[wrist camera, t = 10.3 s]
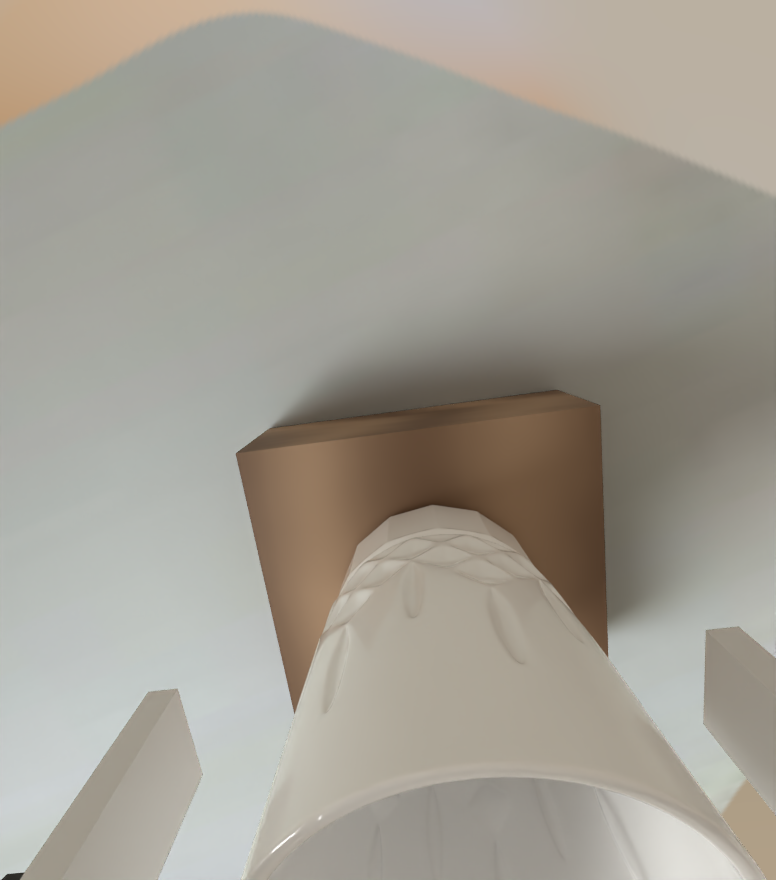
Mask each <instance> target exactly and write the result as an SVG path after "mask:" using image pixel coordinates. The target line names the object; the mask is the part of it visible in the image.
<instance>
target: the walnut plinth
mask: <svg viewBox="0 0 776 880" xmlns="http://www.w3.org/2000/svg"><path fill="white" fill-rule="evenodd" d="M236 457H237V461H238V466H239V470H240V475H241V479H242V483H243V488H244V492H245V497H246V501H247V506H248V510H249V514H250V519H251V523H252V528H253V532H254V537H255V541H256V545H257V550H258V554H259V559H260V563H261V568H262V572H263V576H264V581H265V585H266V590H267V594H268V599H269V603H270V607H271V612H272V616H273V621H274V625H275V630H276V634H277V638H278V643H279V647H280V652H281V656H282V661H283V665H284V669H285V674H286V678H287V683H288V687H289V692H290V696H291V700H292V705H293V709H294V714H295V712H296V708H297V705H298V702H299V699H300V696H301V693H302V690H303V687H304V684H305V681H306V678H307V675H308V671H309V668H310V665H311V662H312V659H313V656H314V653H315V650H316V648H317V645H318V641H319V638H320V636H321V634H322V632H323V630H324V628H325V624H326V621H327V618H328V615H329V612H330V609H331V607H332V604H333V603H334V601H335V600H336V599H337V598H338V596H339V592H340V589H341V585H342V582H343V580H344V577H345V575H346V572H347V570H348V567H349V565H350V562H351V560H352V557H353V555H354V552H355V550H356V547H357V545H358V544H359V543H360V542H361V541H363V540H364V539H365V538H366V537H367V536H368V535H369V534H371V533H372V532H373V531H374V530H375V529H376V528H377V527H379V526H380V525H381V524H382V523H383V522H384V521H386V520H387V519H388V518H389V517H391V516H394V515H398V514H401V513H405V512H408V511H412V510H415V509H419V508H422V507H426V506H429V505H439V506H445V507H452V508H459V509H466V510H473V511H477V512H479V513H480V514H482V515H484V516H485V517H487V518H488V519H490V520H491V521H493V522H494V523H496V524H497V525H499V526H500V527H502V528H503V529H505V530H506V531H508V532H509V533H511V534H512V535H513V536H514V537H515V538H516V540H517V541H518V543H519V544H520V546H521V547H522V549H523V550H524V552H525V553H526V555H527V556H528V558H529V559H530V561H531V562H532V564H533V565H534V566H535V568H536V569H537V570H538V571H539V572H540V573H541V574H542V575H543V576H544V577H545V578H546V579H547V580H548V581H549V582H550V583H551V584H552V585H553V586H554V587H555V589H556V590H557V592H558V593H559V594H560V595H561V597H562V598H563V599H564V601H565V602H566V603H567V605H568V606H569V607H570V609H571V610H572V612H573V613H574V614H575V616H576V617H577V618H578V619H579V621H580V622H581V623H582V624H583V626H584V627H585V628H586V629H587V631H588V632H589V633H590V634H591V636H592V637H593V638H594V639H595V641H596V642H597V643H598V645H599V646H600V647H601V649H602V650H603V651H604V653H605V654H606V656H607V657H608V634H607V603H606V571H605V540H604V508H603V477H602V446H601V414H600V405H598V404H595V403H592V402H589V401H587V400H584V399H581V398H578V397H576V396H573V395H570V394H567V393H564V392H562V391H559V390H553V391H545V392H538V393H530V394H523V395H515V396H508V397H501V398H493V399H486V400H478V401H471V402H463V403H456V404H449V405H441V406H434V407H426V408H419V409H411V410H404V411H396V412H389V413H382V414H374V415H367V416H359V417H352V418H344V419H337V420H330V421H322V422H315V423H307V424H300V425H292V426H285V427H277V428H270V429H268V430H267V431H265V432H264V433H263V434H261V435H260V436H259V437H257V438H256V439H255V440H253V441H252V442H251V443H249V444H248V445H246V446H245V447H244V448H242V449H241V450H240V451H238V452H237V453H236Z"/></svg>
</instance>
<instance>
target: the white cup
mask: <svg viewBox="0 0 776 880" xmlns="http://www.w3.org/2000/svg"><path fill="white" fill-rule="evenodd" d="M241 880H767V879H766V877H765V876H764V874H763V872H762V871H761V869H760V868H759V866H758V865H757V864H756V862H755V861H754V859H753V858H752V857H751V855H750V854H749V852H748V851H747V850H746V848H745V847H744V846H743V844H742V843H741V842H740V840H739V839H738V837H737V836H736V835H735V833H734V832H733V831H732V829H731V828H730V826H729V825H728V824H727V822H726V821H725V820H724V818H723V817H722V815H721V814H720V813H719V811H718V810H717V809H716V807H715V806H714V804H713V803H712V802H711V800H710V799H709V797H708V796H707V795H706V793H705V792H704V791H703V789H702V788H701V786H700V785H699V784H698V782H697V781H696V780H695V778H694V777H693V775H692V774H691V773H690V771H689V770H688V768H687V767H686V766H685V764H684V763H683V762H682V760H681V759H680V757H679V756H678V755H677V753H676V752H675V750H674V749H673V748H672V746H671V745H670V743H669V742H668V741H667V739H666V738H665V736H664V735H663V734H662V732H661V731H660V729H659V728H658V727H657V725H656V724H655V723H654V721H653V720H652V718H651V717H650V716H649V714H648V713H647V711H646V710H645V709H644V707H643V706H642V704H641V703H640V702H639V700H638V699H637V697H636V696H635V695H634V693H633V692H632V690H631V689H630V688H629V686H628V685H627V683H626V682H625V681H624V679H623V678H622V677H621V675H620V674H619V672H618V671H617V670H616V668H615V667H614V665H613V664H612V663H611V661H610V660H609V658H608V657H607V656H606V654H605V653H604V651H603V650H602V649H601V647H600V646H599V645H598V643H597V642H596V641H595V639H594V638H593V637H592V636H591V634H590V633H589V632H588V631H587V629H586V628H585V627H584V626H583V624H582V623H581V622H580V621H579V619H578V618H577V617H576V616H575V614H574V613H573V612H572V610H571V609H570V607H569V606H568V605H567V603H566V602H565V601H564V599H563V598H562V597H561V595H560V594H559V593H558V592H557V590H556V589H555V587H554V586H553V585H552V584H551V583H550V582H549V581H548V580H547V579H546V578H545V577H544V576H543V575H542V574H541V573H540V572H539V571H538V570H537V569H536V568H535V566H534V565H533V564H532V562H531V561H530V559H529V558H528V556H527V555H526V553H525V552H524V550H523V549H522V547H521V546H520V544H519V543H518V541H517V540H516V538H515V537H514V536H513V535H512V534H511V533H509V532H508V531H506V530H505V529H503V528H502V527H500V526H499V525H497V524H496V523H494V522H493V521H491V520H490V519H488V518H487V517H485V516H484V515H482V514H480V513H479V512H477V511H473V510H466V509H459V508H452V507H445V506H439V505H429V506H426V507H422V508H419V509H415V510H412V511H408V512H405V513H401V514H398V515H394V516H391V517H389V518H388V519H387V520H386V521H384V522H383V523H382V524H381V525H380V526H379V527H377V528H376V529H375V530H374V531H373V532H372V533H371V534H369V535H368V536H367V537H366V538H365V539H364V540H363V541H361V542H360V543H359V544H358V545H357V547H356V550H355V552H354V555H353V557H352V560H351V562H350V565H349V567H348V570H347V572H346V575H345V577H344V580H343V582H342V585H341V589H340V592H339V596H338V598H337V599H336V600H335V601H334V603H333V604H332V607H331V609H330V612H329V615H328V618H327V621H326V624H325V628H324V630H323V632H322V634H321V636H320V638H319V641H318V645H317V648H316V650H315V653H314V656H313V659H312V662H311V665H310V668H309V671H308V675H307V678H306V681H305V684H304V687H303V690H302V693H301V696H300V699H299V702H298V705H297V708H296V712H295V715H294V718H293V721H292V724H291V727H290V730H289V733H288V736H287V739H286V742H285V745H284V749H283V752H282V755H281V758H280V761H279V764H278V767H277V770H276V773H275V776H274V779H273V782H272V786H271V789H270V792H269V795H268V798H267V801H266V804H265V807H264V810H263V813H262V816H261V819H260V822H259V825H258V828H257V831H256V834H255V837H254V840H253V843H252V847H251V850H250V853H249V856H248V859H247V862H246V865H245V868H244V871H243V874H242V877H241Z"/></svg>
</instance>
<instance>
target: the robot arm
mask: <svg viewBox="0 0 776 880" xmlns="http://www.w3.org/2000/svg"><path fill="white" fill-rule="evenodd" d="M703 724H704V725H705V727H706V728H707V729H708V730H709V732H710V733H711V734H712V736H713V737H714V738H715V739H716V741H717V742H718V743H719V744H720V746H721V747H722V748H723V749H724V751H725V752H726V753H727V754H728V756H729V757H730V758H731V760H732V761H733V762H734V763H735V765H736V766H737V767H738V768H739V770H740V771H741V772H742V773H743V775H744V776H745V777H746V778H747V780H748V781H749V782H750V783H751V785H752V786H753V787H754V789H755V790H756V791H757V792H758V794H759V795H760V796H761V797H762V799H763V800H764V801H765V802H766V804H767V805H768V806H769V807H770V809H771V810H772V811H773V812H774V814H775V815H776V658H775V657H774V656H772V655H771V654H770V653H769V652H768V651H767V650H765V649H764V648H763V647H762V646H761V645H760V644H758V643H757V642H756V641H755V640H754V639H752V638H751V637H750V636H749V635H748V634H747V633H745V632H744V631H743V630H742V629H741V628H740V627H730V628H721V629H712V630H706V645H705V683H704V720H703ZM202 776H203V774H202V770H201V767H200V763H199V760H198V757H197V753H196V750H195V746H194V743H193V740H192V736H191V733H190V729H189V726H188V723H187V719H186V716H185V712H184V709H183V706H182V702H181V699H180V695H179V692H178V689H170V690H161V691H152V692H148V693H147V695H146V696H145V698H144V699H143V700H142V702H141V703H140V705H139V706H138V708H137V709H136V711H135V712H134V714H133V715H132V717H131V718H130V719H129V721H128V722H127V724H126V725H125V727H124V728H123V730H122V731H121V733H120V734H119V736H118V737H117V738H116V740H115V741H114V743H113V744H112V746H111V747H110V749H109V750H108V752H107V753H106V755H105V756H104V757H103V759H102V760H101V762H100V763H99V765H98V766H97V768H96V769H95V771H94V772H93V774H92V775H91V776H90V778H89V779H88V781H87V782H86V784H85V785H84V787H83V788H82V790H81V791H80V792H79V794H78V795H77V797H76V798H75V800H74V801H73V803H72V804H71V806H70V807H69V809H68V810H67V811H66V813H65V814H64V816H63V817H62V819H61V820H60V822H59V823H58V825H57V826H56V828H55V829H54V830H53V832H52V833H51V835H50V836H49V838H48V839H47V841H46V842H45V844H44V845H43V847H42V848H41V849H40V851H39V852H38V854H37V855H36V857H35V858H34V860H33V861H32V863H31V864H30V866H29V867H28V868H27V870H26V871H25V873H15V874H7V875H6V876H5V877H4V878H3V879H2V880H158V877H159V875H160V873H161V870H162V868H163V866H164V863H165V861H166V859H167V857H168V854H169V852H170V850H171V847H172V845H173V843H174V840H175V838H176V836H177V833H178V831H179V829H180V826H181V824H182V822H183V820H184V817H185V815H186V813H187V810H188V808H189V806H190V803H191V801H192V799H193V796H194V794H195V792H196V790H197V787H198V785H199V783H200V780H201V778H202Z"/></svg>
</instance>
